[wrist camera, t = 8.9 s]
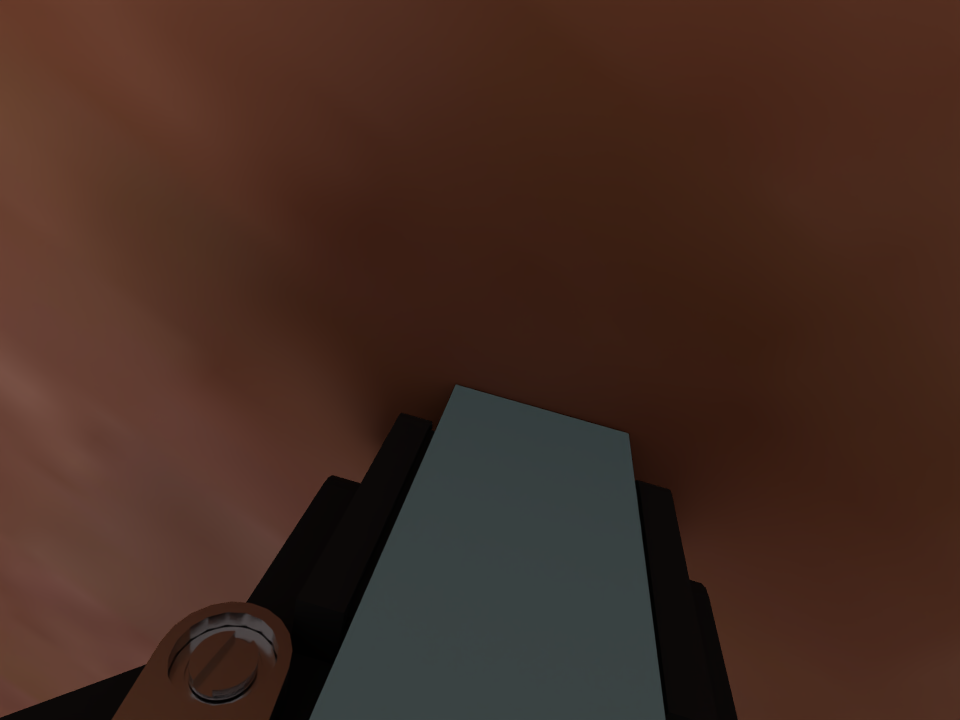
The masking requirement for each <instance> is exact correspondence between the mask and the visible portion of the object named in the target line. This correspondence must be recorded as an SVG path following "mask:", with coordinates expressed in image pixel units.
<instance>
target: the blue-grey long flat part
mask: <svg viewBox="0 0 960 720" xmlns="http://www.w3.org/2000/svg"><path fill="white" fill-rule="evenodd" d="M309 720H666V719H665V712H664V704H663V696H662V688H661V681H660V673H659V665H658V657H657V650H656V642H655V634H654V626H653V619H652V611H651V603H650V595H649V587H648V580H647V572H646V564H645V556H644V549H643V541H642V533H641V525H640V518H639V510H638V502H637V494H636V487H635V479H634V471H633V463H632V456H631V448H630V440H629V433H625V432H622V431H618V430H615V429H611V428H607V427H604V426H600V425H597V424H593V423H590V422H586V421H583V420H579V419H576V418H572V417H569V416H565V415H562V414H558V413H555V412H551V411H548V410H544V409H540V408H537V407H533V406H530V405H526V404H523V403H519V402H516V401H512V400H509V399H505V398H502V397H498V396H495V395H491V394H488V393H484V392H480V391H477V390H473V389H470V388H466V387H463V386H459V385H455V387H454V390H453V392H452V394H451V397H450V399H449V401H448V403H447V406H446V408H445V410H444V413H443V415H442V417H441V419H440V422H439V424H438V426H437V429H436V431H435V433H434V435H433V438H432V440H431V442H430V445H429V447H428V449H427V451H426V454H425V456H424V458H423V461H422V463H421V465H420V467H419V470H418V472H417V474H416V477H415V479H414V481H413V483H412V486H411V488H410V490H409V493H408V495H407V497H406V499H405V502H404V504H403V506H402V509H401V511H400V513H399V515H398V518H397V520H396V522H395V525H394V527H393V529H392V531H391V534H390V536H389V538H388V541H387V543H386V545H385V547H384V550H383V552H382V554H381V557H380V559H379V561H378V563H377V566H376V568H375V570H374V573H373V575H372V577H371V579H370V582H369V584H368V586H367V589H366V591H365V593H364V595H363V598H362V600H361V602H360V605H359V607H358V609H357V611H356V614H355V616H354V618H353V621H352V623H351V625H350V627H349V630H348V632H347V634H346V637H345V639H344V641H343V643H342V646H341V648H340V650H339V653H338V655H337V657H336V659H335V662H334V664H333V666H332V669H331V671H330V673H329V675H328V678H327V680H326V682H325V685H324V687H323V689H322V691H321V694H320V696H319V698H318V701H317V703H316V705H315V707H314V710H313V712H312V714H311V717H310V719H309Z"/></svg>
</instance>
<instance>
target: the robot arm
mask: <svg viewBox="0 0 960 720" xmlns="http://www.w3.org/2000/svg"><path fill="white" fill-rule="evenodd" d="M434 433H435V431H432V421H429V420H425V419H422V418H418V417H415V416H411V415H408V414H404V413H400V415H399V416H398V418H397V420H396V422H395V423H394V425H393V427H392V429H391V430H390V432H389V434H388V436H387V438H386V439H385V441H384V443H383V445H382V447H381V448H380V450H379V452H378V454H377V455H376V457H375V459H374V461H373V463H372V464H371V466H370V468H369V470H368V472H367V473H366V475H365V477H364V479H363V480H362V482H361V483H357V482H354V481H351V480H347V479H344V478H340V477H337V476H334V475H332V476H330V477H328V479H327V480H326V481H325V483H324V484H323V486H322V487H321V489H320V490H319V492H318V493H317V495H316V496H315V498H314V499H313V501H312V502H311V504H310V505H309V507H308V509H307V510H306V512H305V513H304V515H303V516H302V518H301V519H300V521H299V522H298V524H297V525H296V527H295V529H294V530H293V532H292V533H291V535H290V536H289V538H288V539H287V541H286V542H285V544H284V545H283V547H282V548H281V550H280V552H279V553H278V555H277V556H276V558H275V559H274V561H273V562H272V564H271V565H270V567H269V568H268V570H267V571H266V573H265V575H264V576H263V578H262V579H261V581H260V582H259V584H258V585H257V587H256V588H255V590H254V591H253V593H252V595H251V596H250V598H249V599H248V601H247V602H246V603H244V602H226V603H220V604H214V605H210V606H208V607H205V608H203V609H200V610H198V611H196V612H193V613H191V614H190V615H188V616H187V617H185V618H184V619H183V620H181V621H180V622H178V623H177V624H176V625H174V626H173V627H172V629H171V630H170V631H169V632H168V633H167V635H166V636H165V637H164V638H163V639H162V641H161V642H160V643H159V645H158V646H157V648H156V650H155V651H154V653H153V654H152V656H151V658H150V659H149V661H148V662H147V664H146V665H143V666H141V667H138V668H135V669H132V670H130V671H127V672H124V673H122V674H119V675H116V676H113V677H111V678H108V679H105V680H102V681H100V682H97V683H94V684H91V685H89V686H86V687H83V688H80V689H78V690H75V691H72V692H70V693H67V694H64V695H61V696H59V697H56V698H53V699H50V700H48V701H45V702H42V703H39V704H37V705H34V706H31V707H28V708H26V709H23V710H20V711H18V712H15V713H12V714H9V715H7V716H4V717H1V718H0V720H309V719H310V717H311V714H312V712H313V710H314V707H315V705H316V703H317V701H318V698H319V696H320V694H321V691H322V689H323V687H324V685H325V682H326V680H327V678H328V675H329V673H330V671H331V669H332V666H333V664H334V662H335V659H336V657H337V655H338V653H339V650H340V648H341V646H342V643H343V641H344V639H345V637H346V634H347V632H348V630H349V627H350V625H351V623H352V621H353V618H354V616H355V614H356V611H357V609H358V607H359V605H360V602H361V600H362V598H363V595H364V593H365V591H366V589H367V586H368V584H369V582H370V579H371V577H372V575H373V573H374V570H375V568H376V566H377V563H378V561H379V559H380V557H381V554H382V552H383V550H384V547H385V545H386V543H387V541H388V538H389V536H390V534H391V531H392V529H393V527H394V525H395V522H396V520H397V518H398V515H399V513H400V511H401V509H402V506H403V504H404V502H405V499H406V497H407V495H408V493H409V490H410V488H411V486H412V483H413V481H414V479H415V477H416V474H417V472H418V470H419V467H420V465H421V463H422V461H423V458H424V456H425V454H426V451H427V449H428V447H429V445H430V442H431V440H432V438H433V435H434ZM635 487H636V494H637V502H638V510H639V518H640V525H641V533H642V541H643V549H644V556H645V564H646V572H647V580H648V587H649V595H650V603H651V611H652V619H653V626H654V634H655V642H656V650H657V657H658V665H659V673H660V681H661V688H662V696H663V704H664V712H665V719H666V720H738V719H737V714H736V710H735V706H734V702H733V697H732V693H731V689H730V685H729V681H728V676H727V672H726V668H725V664H724V659H723V655H722V651H721V647H720V642H719V638H718V634H717V630H716V625H715V621H714V617H713V613H712V608H711V604H710V600H709V596H708V593H707V590H706V588H705V587H704V586H703V585H702V584H701V583H699V582H695V581H692V580H689V576H688V571H687V566H686V561H685V556H684V552H683V547H682V542H681V537H680V532H679V527H678V522H677V517H676V512H675V507H674V503H673V498H672V494H671V491H670V490H669V489H666V488H663V487H659V486H656V485H652V484H649V483H645V482H642V481H638V480H635Z"/></svg>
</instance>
